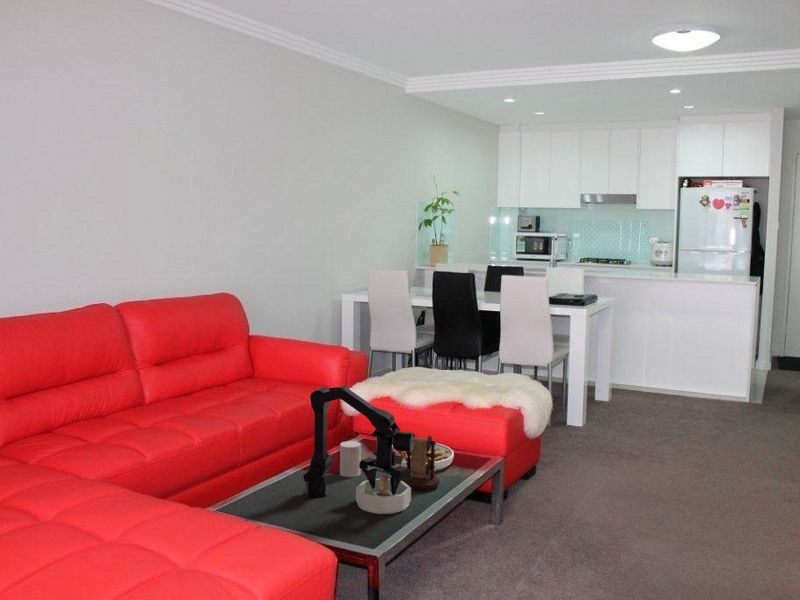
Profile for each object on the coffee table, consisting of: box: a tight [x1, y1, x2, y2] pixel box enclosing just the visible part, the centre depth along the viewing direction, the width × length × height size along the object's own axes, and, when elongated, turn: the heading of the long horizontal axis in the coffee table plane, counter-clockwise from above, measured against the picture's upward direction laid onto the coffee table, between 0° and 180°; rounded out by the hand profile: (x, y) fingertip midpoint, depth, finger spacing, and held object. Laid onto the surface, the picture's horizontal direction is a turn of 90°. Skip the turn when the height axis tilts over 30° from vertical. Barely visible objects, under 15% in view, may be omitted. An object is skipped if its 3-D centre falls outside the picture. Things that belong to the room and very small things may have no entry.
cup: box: [339, 440, 362, 478], centre depth 298 cm, size 8×8×12 cm
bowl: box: [392, 442, 455, 473], centre depth 314 cm, size 30×30×8 cm
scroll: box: [401, 432, 440, 492], centre depth 286 cm, size 15×15×20 cm
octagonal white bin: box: [355, 478, 412, 515], centre depth 268 cm, size 18×18×6 cm
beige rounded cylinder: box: [378, 474, 389, 497], centre depth 267 cm, size 3×3×9 cm
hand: (383, 491), depth 268 cm, fingers open, 9 cm apart
